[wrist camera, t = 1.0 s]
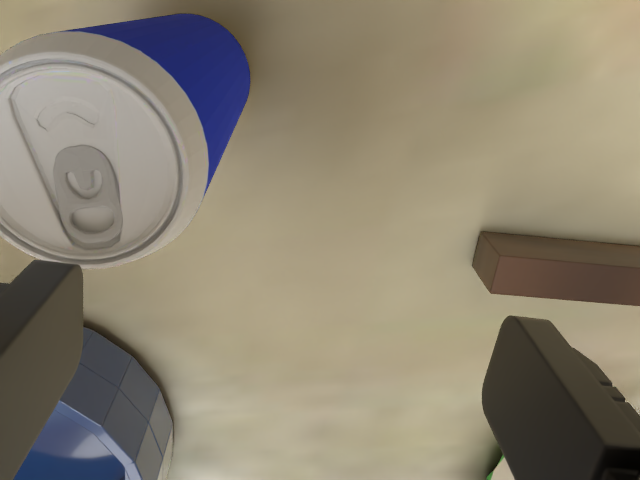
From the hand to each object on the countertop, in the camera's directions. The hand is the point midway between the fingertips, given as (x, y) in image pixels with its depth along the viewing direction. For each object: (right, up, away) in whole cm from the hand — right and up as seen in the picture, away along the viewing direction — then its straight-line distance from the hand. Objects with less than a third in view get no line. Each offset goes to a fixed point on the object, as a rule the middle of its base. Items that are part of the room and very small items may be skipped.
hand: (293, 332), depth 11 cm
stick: (+13, +1, +19) cm, 23 cm away
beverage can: (-5, +9, +15) cm, 18 cm away
